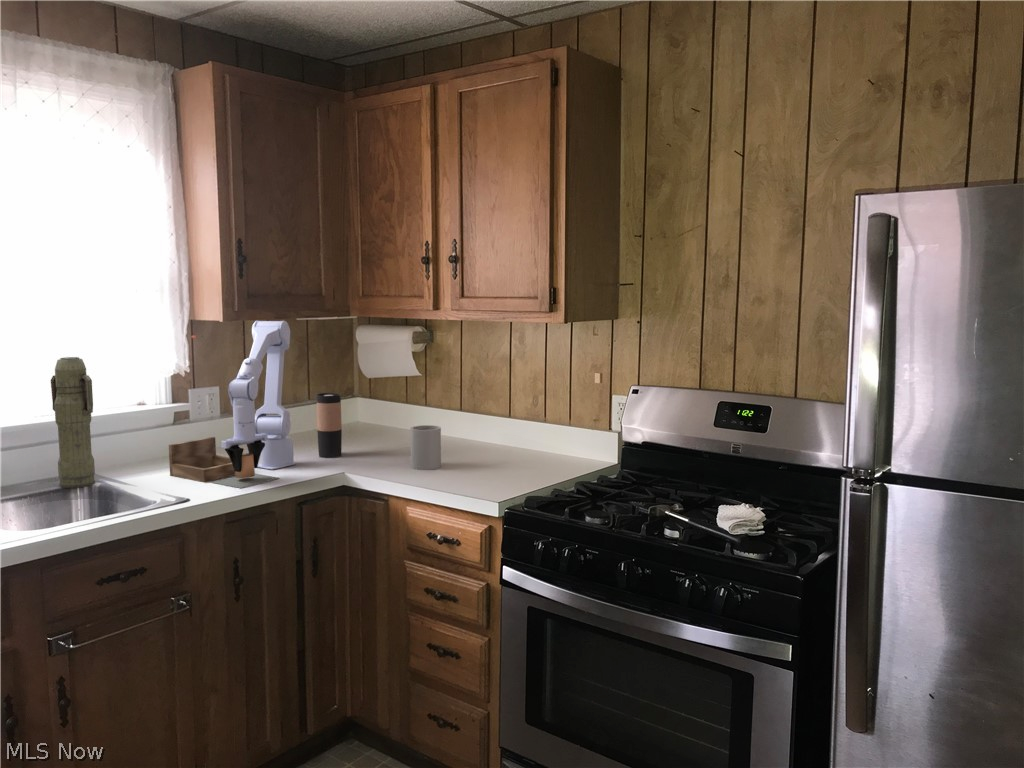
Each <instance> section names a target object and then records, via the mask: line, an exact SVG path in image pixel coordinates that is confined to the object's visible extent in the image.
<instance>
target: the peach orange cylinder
mask: <svg viewBox="0 0 1024 768" xmlns="http://www.w3.org/2000/svg"><path fill="white" fill-rule="evenodd" d="M255 473H256V472H255V468H254V456H253V454H252V453H249V452H243V454H242V469H241V472H236V471H235V475H234V477H236V478H248V477H253V476H255Z"/></svg>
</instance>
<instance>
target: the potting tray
mask: <svg viewBox="0 0 1024 768" xmlns="http://www.w3.org/2000/svg"><path fill="white" fill-rule="evenodd" d="M216 445H217V444H216V437H215V436H209V437H204V438H200V439H199V438H198V439H193V440H189V441H182V442H177V443H172V444H168V456H169V457H168V458H169V461H168V462H169V477H177V478H181V479H184V480H185V479H186V480H191V481H197V482H202V483H206V482H211V481H212V482H213V481H215V480H216V481H217V480H221V479H226V478H230V477H234V476H235V471H234V468H233V465H232V462H231V459H230V457H229V456H225V455H224V456H223V455H217V447H216Z"/></svg>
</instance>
